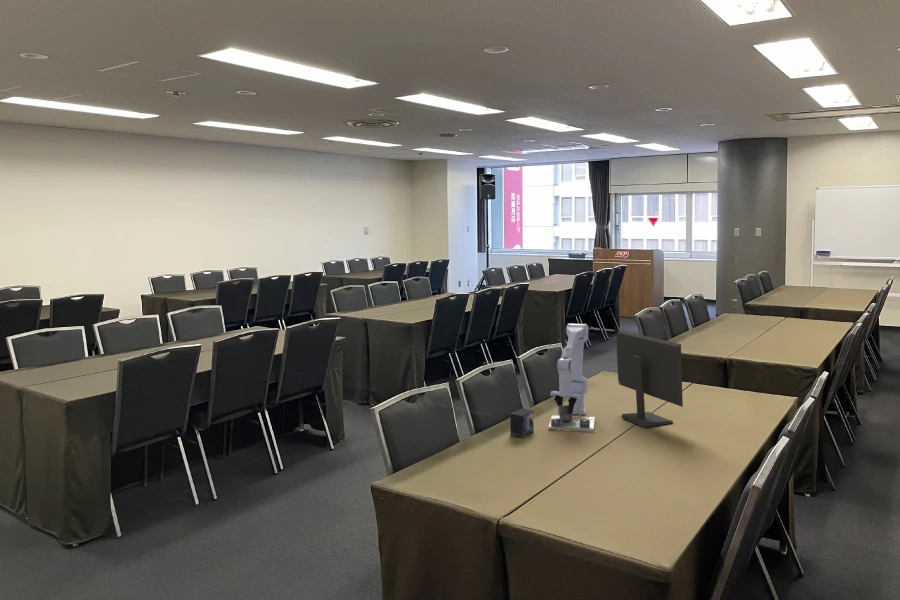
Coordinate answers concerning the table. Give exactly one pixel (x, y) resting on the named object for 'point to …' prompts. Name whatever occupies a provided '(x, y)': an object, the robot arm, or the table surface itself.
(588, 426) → the plate
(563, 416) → the knob
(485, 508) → the table surface
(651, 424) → the computer monitor
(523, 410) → the small box
